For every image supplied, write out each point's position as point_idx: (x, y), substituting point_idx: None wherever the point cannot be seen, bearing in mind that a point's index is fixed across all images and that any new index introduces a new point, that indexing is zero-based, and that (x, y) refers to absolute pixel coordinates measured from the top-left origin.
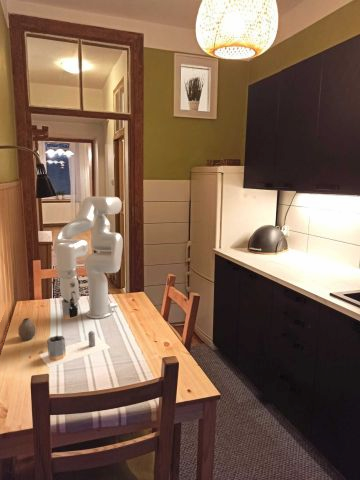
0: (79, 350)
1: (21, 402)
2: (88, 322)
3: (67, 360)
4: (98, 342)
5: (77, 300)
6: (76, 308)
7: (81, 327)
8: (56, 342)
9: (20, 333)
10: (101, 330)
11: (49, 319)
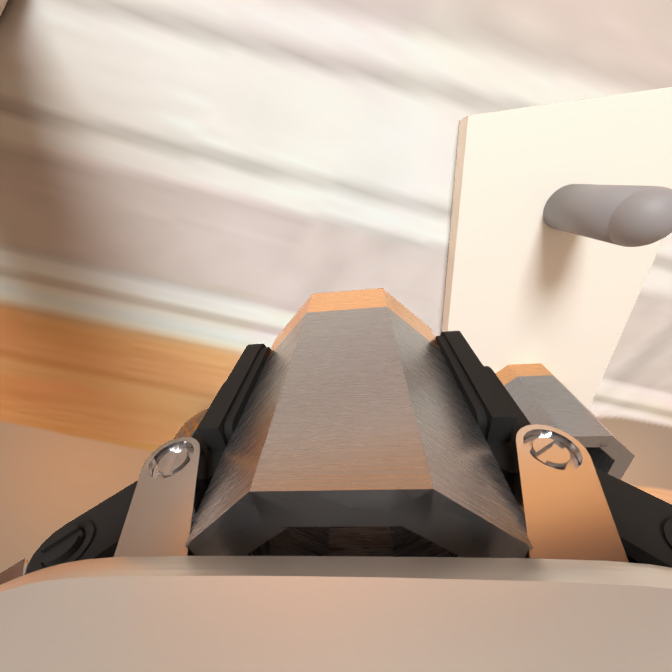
0: (553, 296)
1: (661, 499)
2: (96, 77)
3: (596, 369)
4: (561, 144)
5: (425, 454)
6: (499, 403)
7: (182, 166)
8: (621, 477)
9: None
10: (301, 11)
11: (16, 310)
